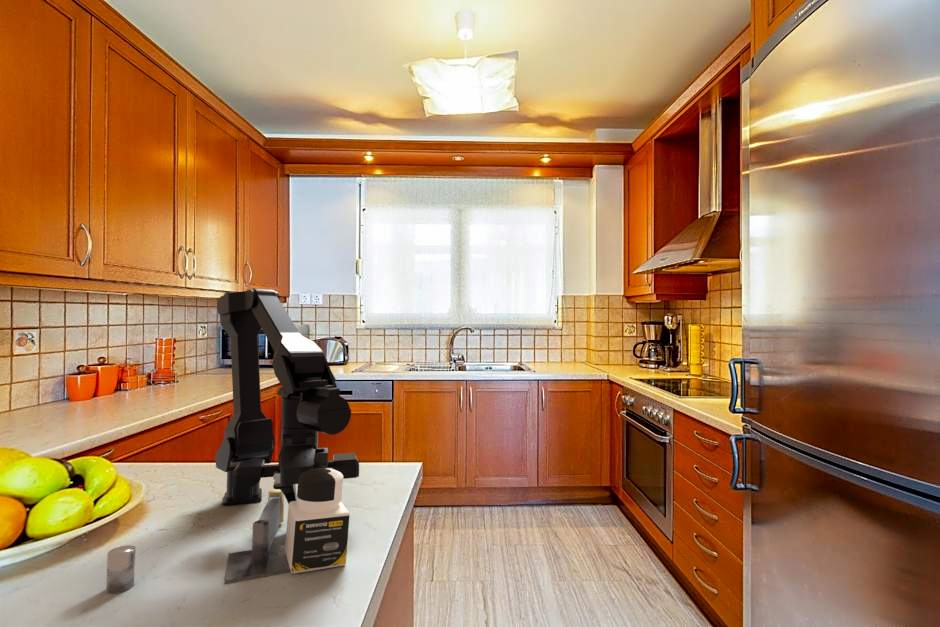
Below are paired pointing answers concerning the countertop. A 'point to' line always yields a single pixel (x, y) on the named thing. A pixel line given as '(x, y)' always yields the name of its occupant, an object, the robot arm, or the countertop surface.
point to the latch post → (120, 569)
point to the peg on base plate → (257, 558)
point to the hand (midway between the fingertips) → (297, 522)
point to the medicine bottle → (317, 522)
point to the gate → (273, 513)
